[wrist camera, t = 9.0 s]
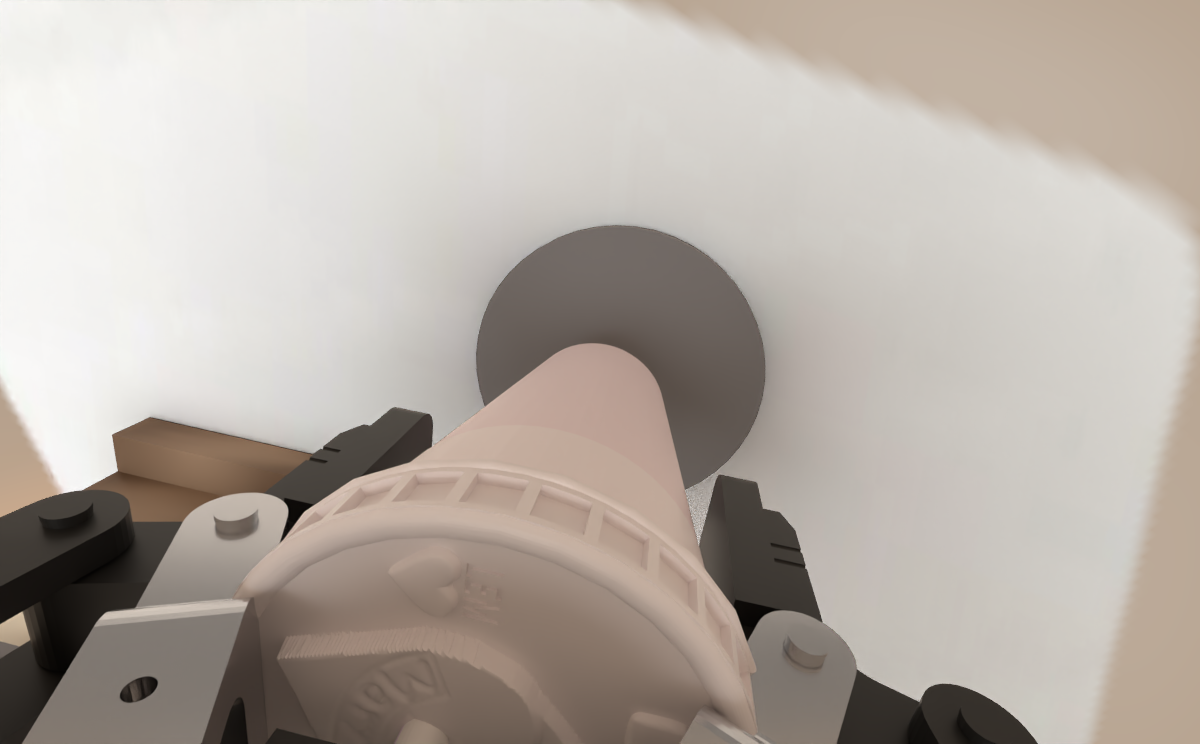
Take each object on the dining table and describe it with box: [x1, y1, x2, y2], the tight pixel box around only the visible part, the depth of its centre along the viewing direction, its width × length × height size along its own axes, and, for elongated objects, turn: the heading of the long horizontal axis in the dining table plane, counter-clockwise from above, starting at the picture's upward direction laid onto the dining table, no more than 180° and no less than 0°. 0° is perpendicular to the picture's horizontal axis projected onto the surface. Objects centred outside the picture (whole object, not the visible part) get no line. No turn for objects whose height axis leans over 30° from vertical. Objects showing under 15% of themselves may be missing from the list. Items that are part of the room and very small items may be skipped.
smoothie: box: [232, 343, 758, 744], centre depth 9 cm, size 6×6×14 cm
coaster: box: [476, 225, 765, 489], centre depth 18 cm, size 9×9×1 cm
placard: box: [0, 418, 312, 658], centre depth 16 cm, size 14×4×12 cm, turn 81°
